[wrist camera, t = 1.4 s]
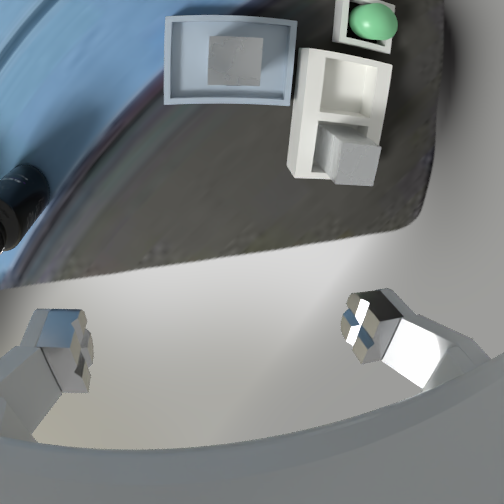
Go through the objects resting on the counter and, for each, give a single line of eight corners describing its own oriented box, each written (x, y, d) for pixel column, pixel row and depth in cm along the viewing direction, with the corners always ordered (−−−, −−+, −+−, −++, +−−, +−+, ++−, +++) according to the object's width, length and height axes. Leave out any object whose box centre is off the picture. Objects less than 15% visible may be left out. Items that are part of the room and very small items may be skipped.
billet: (208, 39, 25) (209, 36, 19) (251, 40, 25) (263, 38, 20) (207, 78, 27) (207, 86, 21) (248, 79, 28) (259, 87, 22)
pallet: (298, 47, 27) (309, 48, 24) (375, 61, 28) (392, 65, 25) (286, 165, 35) (294, 177, 32) (357, 169, 36) (370, 181, 33)
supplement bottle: (32, 152, 29) (-23, 201, 19) (61, 197, 33) (18, 257, 23) (0, 180, 29) (-52, 232, 20) (27, 220, 34) (-14, 280, 24)
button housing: (336, -8, 23) (343, -10, 22) (385, 6, 24) (395, 5, 22) (331, 41, 27) (339, 41, 25) (381, 52, 28) (390, 54, 26)
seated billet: (317, 123, 31) (342, 142, 25) (351, 126, 32) (381, 147, 26) (312, 158, 33) (335, 184, 28) (345, 160, 34) (372, 186, 28)
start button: (350, 1, 23) (363, -2, 20) (384, 10, 23) (399, 9, 21) (347, 35, 25) (360, 34, 23) (380, 43, 26) (395, 44, 23)
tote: (168, 18, 23) (165, 16, 22) (292, 22, 25) (297, 21, 24) (166, 101, 29) (164, 104, 27) (285, 102, 30) (289, 106, 29)
